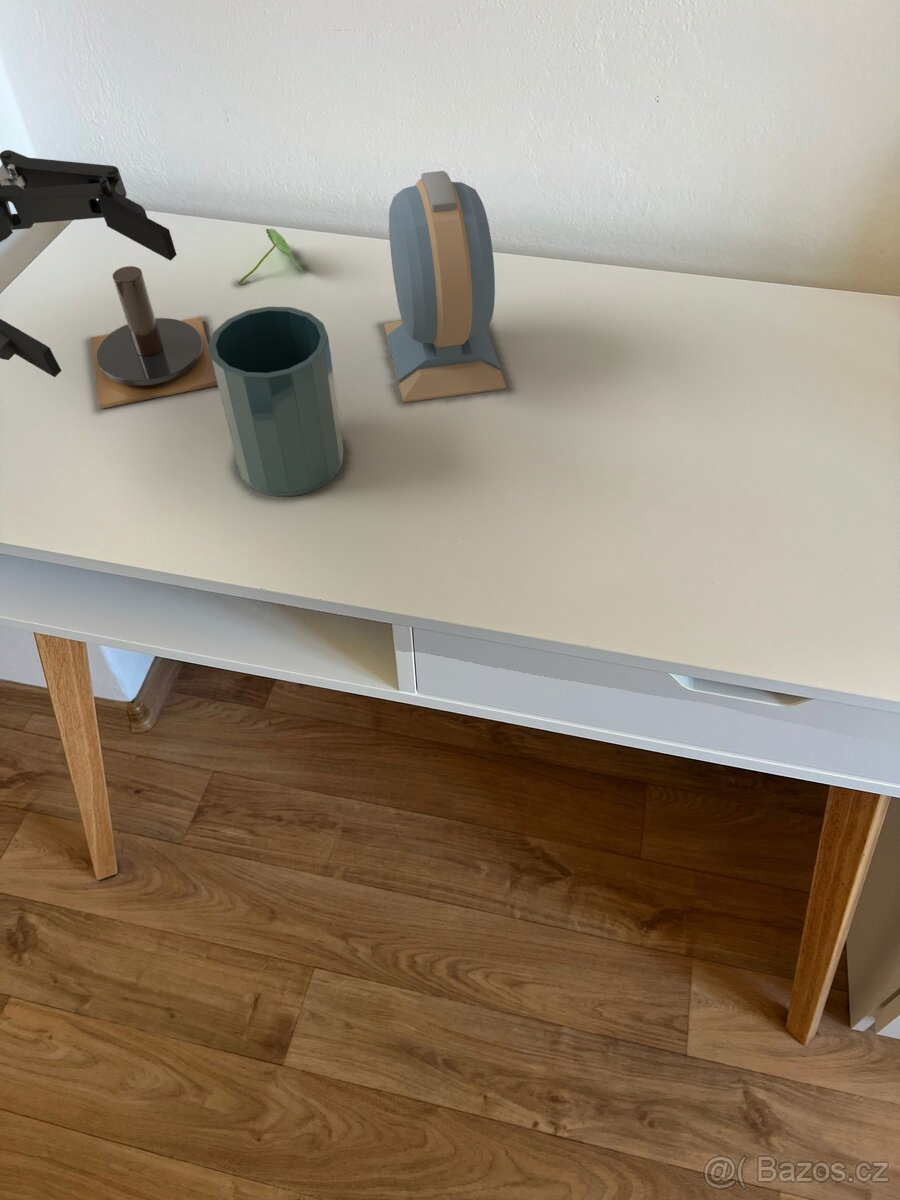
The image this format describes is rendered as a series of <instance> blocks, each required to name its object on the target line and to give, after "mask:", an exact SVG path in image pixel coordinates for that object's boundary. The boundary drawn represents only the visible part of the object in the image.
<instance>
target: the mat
mask: <svg viewBox="0 0 900 1200" xmlns="http://www.w3.org/2000/svg"><path fill="white" fill-rule="evenodd" d="M181 321H183V322H185V323H187V324H189V325H191V326H192V327H194V328H195V329H196V330H197V331H198V333H199V334H200V336H201V339H202V343H203V351H202V354H201V357H200V359H199V360H198V362H197V363H196V364H195V365H194V366H193V367H192V368H191V369H190V370H188V371H187V372H185V373H184V374H182V375H180V376H179V377H176V378H174V379H172V380H169V381H166V382H163V383H159V384H153V385H145V386H135V385H126V384H122V383H118V382H115V381H113V380H111V379H109V378H108V377H107V376H105V375H104V374H103V373H102V372H101V370H100V368H99V366H98V363H97V358H96V355H97V350H98V347H99V346H100V344H101V343H102V341H103V340H104V339H105V338H106V337H107V336H108V335H109V334H110V333H108V334H102V335H98V336H92V337H90V346H91V354H92V362H93V369H94V379H95V385H96V395H97V402H98V407H99V409H101V410H103V409H107V408H111V407H116V406H121V405H122V406H123V405H127V404H131V403H136V402H142V401H147V400H152V399H156V398H163V397H166V396H171V395H172V396H173V395H176V394H182V393H186V392H192V391H196V390H201V389H206V388H210V387H216V386H217V387H218V384H217V380H216V376H215V372H214V368H213V364H212V359H211V355H210V351H209V347H208V345H209V342H208V339H207V335H206V332H205V327H204V323H203V319H202V317H201V316H197V317H193V318H187V319H181Z"/></svg>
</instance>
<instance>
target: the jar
mask: <svg viewBox="0 0 900 1200" xmlns="http://www.w3.org/2000/svg"><path fill="white" fill-rule="evenodd" d="M329 339H330V338H329V333H328V331H327V329H326V327H325V324H324V323H323V321H321V320H320V319H319V318H317V317H316V316H315V315H314V314H312V313H311V312H308V311H304V310H301V309H298V308H295V307H291V306H264V307H259V308H254V309H248V310H245V311H243V312H241V313H239V314H237V315H234V316H232V317H230V318H228V319H226V320H225V321H224V322H222V323H221V325H219V327H217V328H216V329H215V330H214V331H213V333H212V336H211V338H210V340H209V342H208V347H209V351H210V355H211V359H212V364H213V368H214V372H215V376H216V380H217V384H218V385H217V388H218V391H219V396H220V399H221V404H222V409H223V412H224V416H225V421H226V425H227V429H228V433H229V437H230V441H231V445H232V449H233V453H234V457H235V462H236V465H237V470H238V473H239V476H240V477H241V479H242V480H243V481H244V483H245V484H246V485H247V486H249V488H252V489H253V490H254V491H256V492H258V493H262V494H265V495H268V496H273V497H294V496H295V497H296V496H301V495H305V494H308V493H311V492H314V491H316V490H318V489H321V488H322V487H324V486H326V485H327V484H328V483H329V482H331V481H332V480H333V479H334V478H335V477H336V476H337V474H338V473H339V471H340V469H342V468H341V467H342V466H343V462H344V444H343V437H342V430H341V421H340V414H339V408H338V399H337V392H336V385H335V378H334V369H333V361H332V354H331V347H330V340H329Z"/></svg>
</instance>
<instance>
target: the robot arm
mask: <svg viewBox="0 0 900 1200" xmlns="http://www.w3.org/2000/svg"><path fill="white" fill-rule="evenodd" d="M0 162H1V166H0V243H2V242H3V241H6V240H7V239H8V238H9V237H10V236H11V235H12V234H13V232H14V230H27V229H31V228H33V225H34V224H41V223H54V222H67V221H79V220H80V221H81V220H91V219H102V218H104V221H105V224H106V227H108V228H109V229H111V230H113V231H115V232H117V233H119V234H121V236H124V237H126V238H127V239H130V240H131V241H134V242H135V243H137V244H139V245H141V246H142V247H144V248H147V249H148V250H150V251H152V252H154V253H155V254H157V255H160V256H161V257H163V258H164V259H166V260H169V261H170V262H171V261H172V260H173V259H174V258H175V257H177V250H176V247H175V245H174V241H173V238H172V234H171V232H170V229H169V228H167V227H165V226H163V225H162V224H159V223H158V222H156V221H155V220H152V219H150V218H149V217H148V215H147V212H146V209H145V208H144V206H142V205H141V204H139V203H136V202H135V201H133V200H131V199H130V198H128V197H127V190H126V188H125V184H124V181H123V179H122V176H121V172H120V170H119V167H117V166H115V165H111V164H110V165H109V164H98V163H87V162H78V161H68V160H66V161H65V160H56V159H47V158H37V157H28V156H25V155H23V154H21V153H18V152H16V151H13V150H10V149H6V150H3V151H1V152H0ZM9 202H10V203H11V204H12V205H13V207H14V209H15V211H16V213H12V210H11V207H10V204H9ZM13 356H17V357H19V358H21V359H23V360H25V361H26V362H28V363H29V364H31V365H33V366H34V367H36V368H38V369H39V370H41V371H43V372H45V373H46V374H48V375H50V376H51V377H53V378H56V377H57V376H58V375H59V374H60V373H61V372H62V368H61V366H60V365H59V363H58V361H57V359H56V357H55V356H54V353H53V351H52V350H51V348H50V347H49V346H48V345H46V344H44V343H43V342H41V341H39V340H38V339H36V338H34V337H32V336H31V335H30V334H27V333H25V332H24V331H22V330H21V329H19V328H17V327H15V326H14V325H12V324H10V323H8V322H6V321H5V320H4V319H2V318H0V359H1V360H3V361H4V360H5V361H9V360H10V359H12V357H13Z"/></svg>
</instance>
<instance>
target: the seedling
mask: <svg viewBox="0 0 900 1200" xmlns="http://www.w3.org/2000/svg"><path fill="white" fill-rule="evenodd" d="M256 218H257V217H256ZM257 220H258V218H257ZM261 226H262V228H264V226H263V225H261ZM265 232H266V234H267V237H268V239H269V240H270V242H271V243H272V244H273V246H272V247H271V248H270V249H269V250H268V251H267V252H266V253H265V254H264V255H263V257H262V258H261V259H260V260H259V261H258V263H257V264H256V265H255V267H254V268H253V269H252V270H251V271H249V272H248V273H247V274H245V275H244V276H243V277H242V278H241V279H240V280H239V281H238V282H237V283H238V285H241V284H242V283H243V281H244V280H245V279H247V278H248V277H249V276H250V275H252V274H253V273H254V272H255V271H256V270H257V269H258V268H259V267H260V266H261V264H262V263H263V261H264V260H265V259H266V258H267V257H269V255H270V254H271V253H272V251H274V249H275V248H277V250H279V251H280V252H281V253H282V254H283V255H284V256H285V257H286V258H288V260H290V261H291V262H292V263H294V264H295V265H296V266H297V267H298V268H300V269H302V270H303V268H302V267H301V266H300V265H299V264H298V263H297V262H296V261H295V260H294V256H293V255H292V254H291V253H292V250H291V248H290V246H289V244H288V243H287V241H286V239H284V237H283V236H282V235H281V234H280V233H279V231H277V230H276V229H274V228H266V229H265Z"/></svg>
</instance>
